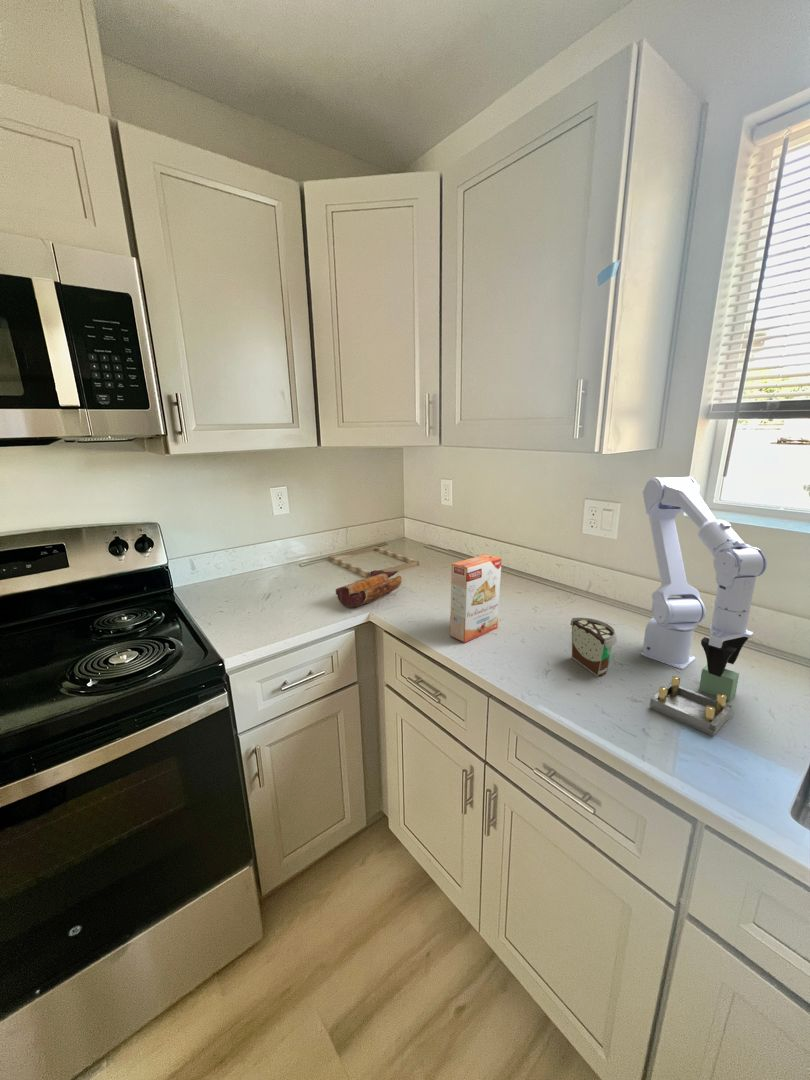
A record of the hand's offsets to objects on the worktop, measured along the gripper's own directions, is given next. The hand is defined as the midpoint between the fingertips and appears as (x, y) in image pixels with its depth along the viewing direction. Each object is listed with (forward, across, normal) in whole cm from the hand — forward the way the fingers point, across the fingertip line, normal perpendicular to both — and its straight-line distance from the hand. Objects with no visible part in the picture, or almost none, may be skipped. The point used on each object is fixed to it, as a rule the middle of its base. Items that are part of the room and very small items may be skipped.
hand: (721, 668), depth 91 cm
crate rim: (+5, -4, +122) cm, 122 cm away
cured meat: (-2, -24, +93) cm, 96 cm away
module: (+6, 0, 0) cm, 6 cm away
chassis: (+6, -12, +1) cm, 13 cm away
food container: (+6, -9, +22) cm, 25 cm away
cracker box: (+6, -18, +52) cm, 55 cm away
